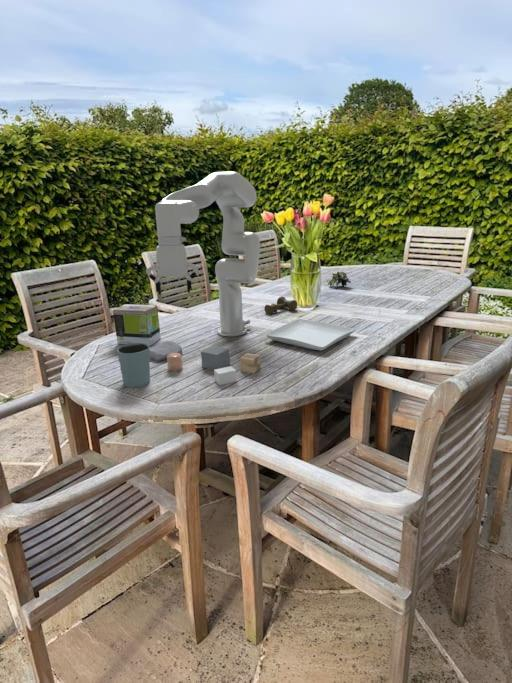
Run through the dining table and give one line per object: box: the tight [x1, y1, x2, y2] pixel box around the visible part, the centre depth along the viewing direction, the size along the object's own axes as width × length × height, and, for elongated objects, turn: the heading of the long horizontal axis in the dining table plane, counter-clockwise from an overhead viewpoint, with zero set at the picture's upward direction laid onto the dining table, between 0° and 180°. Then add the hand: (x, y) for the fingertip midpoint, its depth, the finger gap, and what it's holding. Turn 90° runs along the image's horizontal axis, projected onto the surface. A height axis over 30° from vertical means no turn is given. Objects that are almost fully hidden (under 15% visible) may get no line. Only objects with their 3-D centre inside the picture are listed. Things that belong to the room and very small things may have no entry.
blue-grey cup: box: [116, 343, 151, 389], centre depth 150 cm, size 10×10×12 cm
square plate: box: [264, 318, 356, 351], centre depth 187 cm, size 27×27×4 cm
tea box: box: [112, 303, 161, 347], centre depth 188 cm, size 15×10×15 cm, turn 74°
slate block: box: [200, 345, 231, 371], centre depth 162 cm, size 7×7×6 cm
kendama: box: [264, 296, 298, 316], centre depth 228 cm, size 6×10×20 cm
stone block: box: [149, 340, 183, 362], centre depth 174 cm, size 12×5×10 cm
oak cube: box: [239, 352, 261, 374], centre depth 158 cm, size 5×5×5 cm
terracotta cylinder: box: [166, 353, 184, 373], centre depth 161 cm, size 5×5×5 cm
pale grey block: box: [213, 365, 237, 386], centre depth 150 cm, size 6×4×4 cm, turn 117°
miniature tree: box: [326, 271, 352, 289], centre depth 272 cm, size 11×11×12 cm
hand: (174, 292), depth 156 cm, fingers open, 9 cm apart
